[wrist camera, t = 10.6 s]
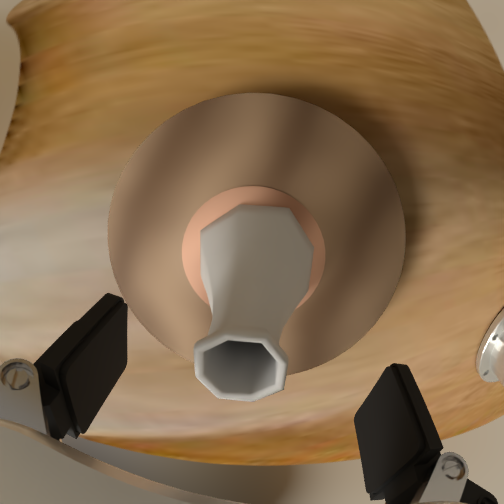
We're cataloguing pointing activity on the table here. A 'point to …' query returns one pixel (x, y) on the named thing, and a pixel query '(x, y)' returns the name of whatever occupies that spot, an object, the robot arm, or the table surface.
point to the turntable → (262, 194)
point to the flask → (250, 298)
